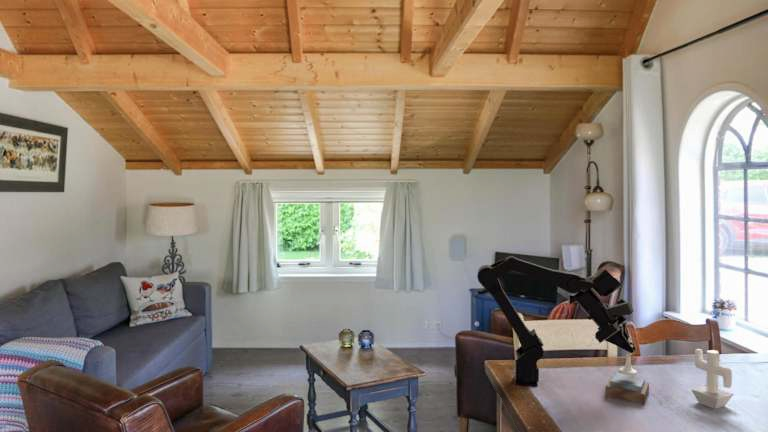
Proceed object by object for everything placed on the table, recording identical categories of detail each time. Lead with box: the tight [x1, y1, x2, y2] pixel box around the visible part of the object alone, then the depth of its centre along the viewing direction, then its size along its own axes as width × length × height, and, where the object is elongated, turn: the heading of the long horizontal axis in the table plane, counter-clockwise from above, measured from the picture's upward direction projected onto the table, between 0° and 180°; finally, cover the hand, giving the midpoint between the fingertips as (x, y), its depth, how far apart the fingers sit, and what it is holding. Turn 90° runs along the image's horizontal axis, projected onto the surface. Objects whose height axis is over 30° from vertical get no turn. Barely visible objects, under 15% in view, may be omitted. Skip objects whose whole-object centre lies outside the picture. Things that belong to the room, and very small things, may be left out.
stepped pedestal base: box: [604, 372, 650, 406], centre depth 141 cm, size 10×10×4 cm
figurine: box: [690, 348, 734, 410], centre depth 135 cm, size 7×9×15 cm
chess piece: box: [617, 338, 638, 377], centre depth 140 cm, size 5×5×10 cm
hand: (633, 351), depth 140 cm, fingers closed on chess piece
